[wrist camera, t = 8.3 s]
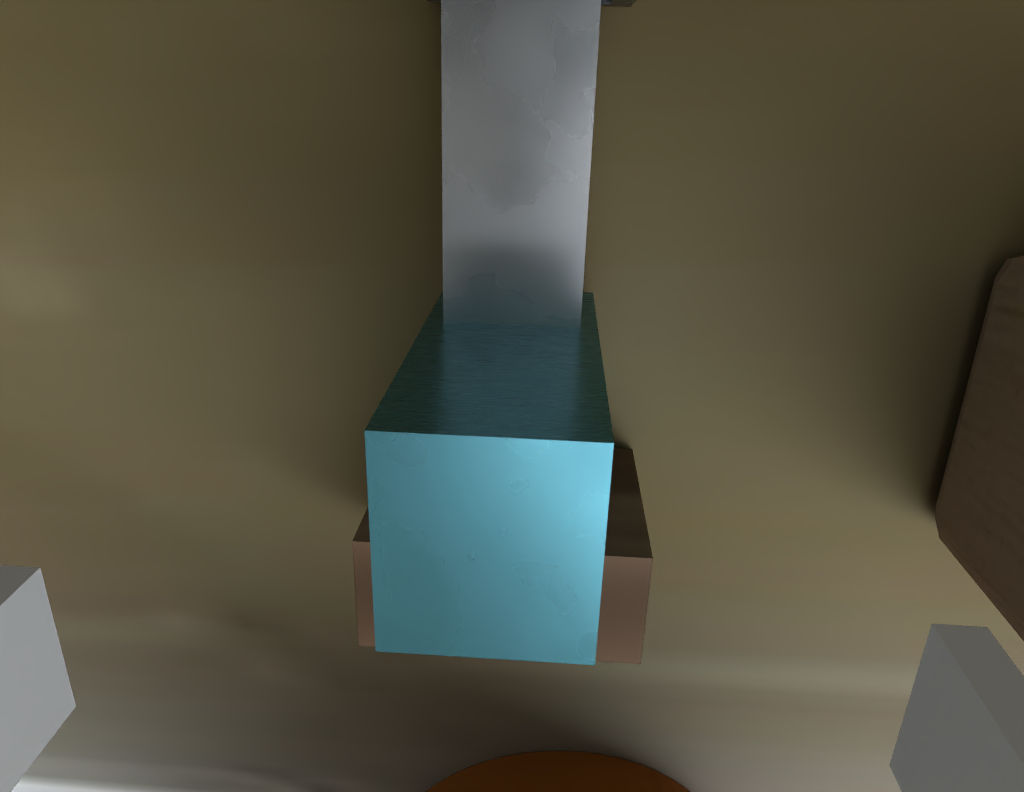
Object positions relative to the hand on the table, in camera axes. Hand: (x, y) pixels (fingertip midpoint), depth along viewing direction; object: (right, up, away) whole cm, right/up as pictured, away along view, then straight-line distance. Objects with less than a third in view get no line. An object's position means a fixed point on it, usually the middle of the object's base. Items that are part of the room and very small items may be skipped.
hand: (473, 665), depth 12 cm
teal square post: (+1, +8, +12) cm, 14 cm away
